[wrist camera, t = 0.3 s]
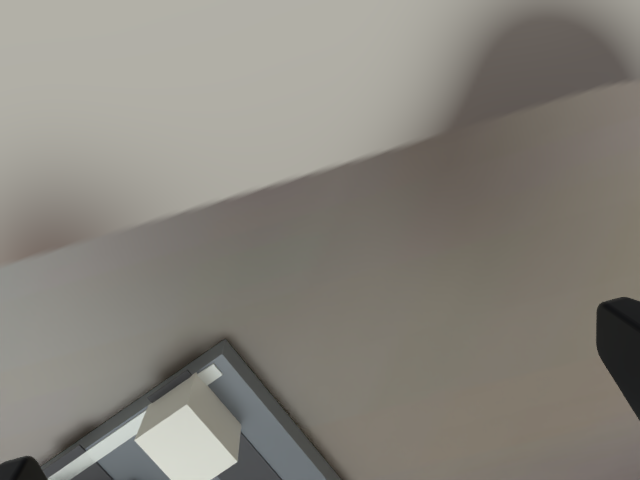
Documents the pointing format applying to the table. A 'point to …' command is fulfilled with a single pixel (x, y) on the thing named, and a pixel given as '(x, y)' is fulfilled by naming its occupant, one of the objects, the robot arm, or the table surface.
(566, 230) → the table surface
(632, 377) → the robot arm
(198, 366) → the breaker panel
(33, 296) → the table surface
